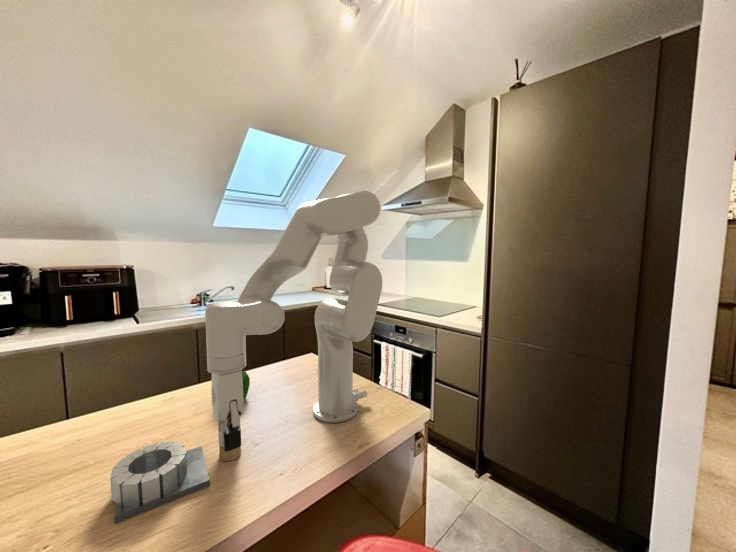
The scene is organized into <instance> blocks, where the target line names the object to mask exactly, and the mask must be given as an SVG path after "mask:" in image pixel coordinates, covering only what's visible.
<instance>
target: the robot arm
mask: <svg viewBox="0 0 736 552" xmlns="http://www.w3.org/2000/svg"><path fill="white" fill-rule="evenodd" d="M381 209H382V208H381V202H380V200H379V198H378V197H377V196H376V194H374V193H373V192H372V191H369V190H360V191H355V192H352V193H351V192H350V193H345V194H341V195H340V194H339V195H338V196H335V197H329V198H328V197H327V198H322V199H317V200H312V201H311V200H310V201H307V202H304V203H302V204H301V205H300V206H299V207H298V208H297V209H296V211H295V212H294V214H293V216H292V218H291V219H290V221H289V223H288V225H287V227H286V229H285V230H284V232H283V234H282V235H281V238H280V239H279V241H278V243H277V245H276V246H275V248H274V250H273V251H272V253H271V254H270V255H269V256H268V257H267V258H266V259H265V260H264V261H263V262H262V264H261V265H260V266H259V267H258V268H257V269H256V270H255V272H254V273H253V274H252V276H251V277H250V278H249V280H248V281H247V282H246V285H245V286H244V288H243V290H242V292H241V294H240V295H239V297H238V299H237V301H220V302H215V303H212V304H209V305H208V306H207V307H206V308H205V312H204V315H205V319H204V320H205V321H204V322H205V336H206V337H205V342H206V345H205V346H206V364H207V365H206V368H207V369H206V371H207V372H208V373H209V374H211V407H212V411H213V413H214V416H215V418H216V420H217V422H222V421H224V422H225V432H224V450H225V451H226V452H227V451H230V450H233V449H236V448H239V447H241V446H242V428H241V417H242V416H243V414H244V408H245V407H244V406H245V405H244V403H245V402H244V401H245V400H243V381H242V380H243V379H242V372H243V369H244V368H246V367H247V351H246V350H247V349H246V346H247V343H246V339H247V338H246V336H252V335H254V336H255V335H260V336H261V335H269V334H273V333H275V332H277V331H278V330H279V329H281V327H282V326H283V324H284V322H285V320H286V319H285V318H286V317H285V311H284V308H283V307H282V306H281V305H280V304H279V303H277V302H276V301H273V300H272V299H273V297H274V295H275V293H276V292H277V290H278V289H279V288H280V287H281V286H282V285H283V284H284V283H286V282H287V281H288V280H290V279H292V278H294V277H296V276H297V275H300V274H301V273H303V271H305V270H306V269H307V268H308V266H309V264H310V263H311V262H310V261H311V259H312V258H313V255H314V253H315V252H316V250H317V248H318V246H319V244H320V242H321V240H322V239H323V237H325V236H337V239H338V240H337V241H338V242H337V248H336V252H335V256H334V259H333V264H332V267H331V271H330V274H329V287H330V289H331V290H332V291H333V292H334V293H336V294H339V295H342V296H347V300H344V299H341V298H327V299H324V300H322V301H321V302H320V303H319V304H318V305H317V307H316V309H315V313H314V326H315V330H316V336H317V337H316V338H317V352H318V353H317V363H318V365H317V366H318V369H317V371H318V372H317V373H318V374H317V378H318V380H317V383H318V384H317V386H318V390H317V391H318V401H316V402H315V403H314V404H313V406H312V415H313V416H314V417H315V418H317V419H318V420H320V421H322V422H325V423H332V424H333V423H342V422H346V421H348V420H349V421H350V419H353V418H354V417H355V416H356V415H357V414H358V412H359V404H358V401H359V400H361V399H364V398H366V397H368V391H366V390H365V389H363V390H360V391H359V389H358V388H356V389H354V388H353V387H354V386H353V385H354V384H353V379H354V377H353V376H354V375H353V374H354V372H353V371H354V370H353V369H354V368H353V367H354V366H353V364H354V362H353V361H354V360H353V359H354V348H353V342H355V343H358V342H361V341H364V340H365V339H366V338H367V337H368V336H369V334H370V333H371V332H372V328H373V325H374V323H375V318H376V315H377V311H378V307H379V303H380V300H381V299H380V298H381V295H382V291H383V276H382V273H381V270H380V269H379V268H378V266H377V265H375V264H374V263H373V262H368V261H366V260H367V254H368V250H369V241H368V240H369V239H368V235H367V234H366V231H365V230H364V227H367V226H370V225H371V224H373V223H375V222H376V221H377V219H379V216H380V212H381ZM228 414H231V416H229V417H227V416H228ZM239 416H240V418H239ZM230 420H231V424H229V426H228V421H230Z"/></svg>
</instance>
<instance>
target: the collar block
mask: <svg viewBox="0 0 736 552" xmlns="http://www.w3.org/2000/svg"><path fill="white" fill-rule="evenodd" d="M142 448H143V449H142ZM142 448H138V449H136V450H134V451H133V452H131V453H129V454H127V455H125V457H123V458H121V459H120V460H119V461H118V462H117V463H116V464H115V465H114V466H113V468H112V469H111V473H110V488H111V489H110V492H111V499H112V502H113V503H114V504H115V509H114V510H115V511H114V517H113V518H114V524H118V523H120V522H123V521H126V520H128V519H130V518H133V517H135V515H136V516H138V515H141V514H142V513H145V512H147V511H150V510H154V509H155V508H158V507H161V506H163V505H165V504H168V503H170V502H174V501H175V500H178V499H180V498H183V497H186V496H188V495H191V494H193V493H195V492H198V491H200V490H203V489H206V488H208V487H210V486H211V480H210V476H209V471H208V467H207V464H206V459H205V455H204V452H203V447H202V446H198V447H195V448H192V449H188V450H187V449H186V445H184V444H182V443H180V442H178V441H160V442H155V443H153V444H149V445H145V446H143V447H142ZM140 513H141V514H140Z"/></svg>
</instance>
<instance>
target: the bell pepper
mask: <svg viewBox="0 0 736 552" xmlns="http://www.w3.org/2000/svg"><path fill="white" fill-rule="evenodd" d="M242 379H243V380H242V381H243V400H244V401H245V400H246V398H247V396H248V392H249V390H250V389H249V388H250V384H251V383H250V382H251V381H250V380H251V379H250V376H249V374H248V373H247V371H243V370H242Z"/></svg>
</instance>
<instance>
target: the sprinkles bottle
mask: <svg viewBox="0 0 736 552" xmlns="http://www.w3.org/2000/svg"><path fill="white" fill-rule="evenodd" d="M229 416H231V414H228V416H227V417H229ZM239 418H240V419H241V417H240V416H239ZM217 422H218V421H217ZM217 424H218V426H217V427H218V430H217V431H218V435H217V436H218V447H219V448H218V449H219V454H218V458H219V459H220V461H222V462H230V461H234V460H236V459H237V458H238V457H240V455H241V453H242V448H241V446H240V447H239V448H236V449H233V450H230V451H227V452H226V451H225V450H224V432H225V422H224V421H222V422H218V423H217ZM229 424H231V420H230V421H228V426H229Z"/></svg>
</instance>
